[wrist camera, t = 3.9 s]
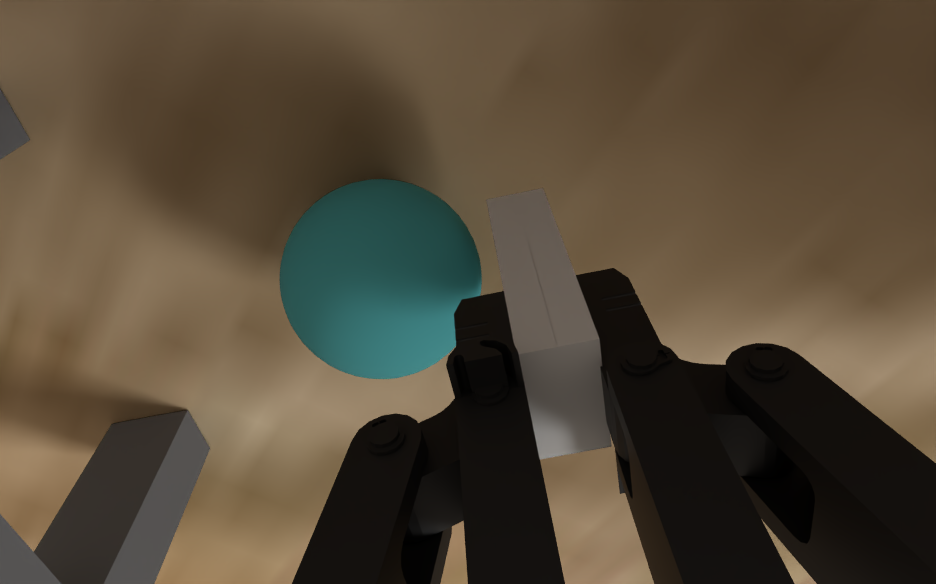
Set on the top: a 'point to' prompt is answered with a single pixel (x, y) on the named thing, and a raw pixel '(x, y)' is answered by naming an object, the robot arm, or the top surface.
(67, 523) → the bridge
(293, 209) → the top surface
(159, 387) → the top surface
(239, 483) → the top surface
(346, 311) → the ball
